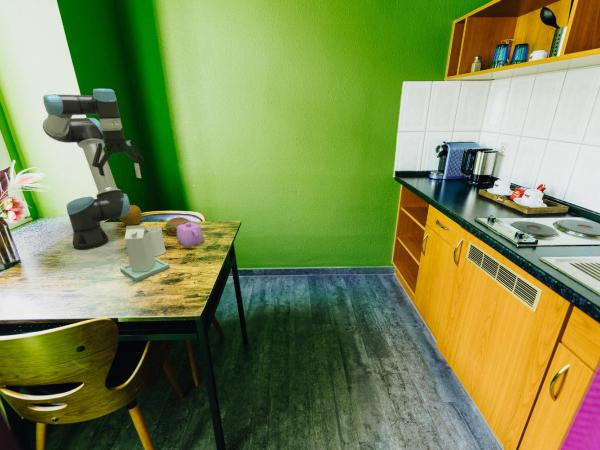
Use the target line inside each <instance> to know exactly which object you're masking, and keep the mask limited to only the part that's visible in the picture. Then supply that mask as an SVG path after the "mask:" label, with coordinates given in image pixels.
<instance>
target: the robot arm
mask: <svg viewBox="0 0 600 450" xmlns="http://www.w3.org/2000/svg"><path fill="white" fill-rule="evenodd" d="M92 93H93V94H92V95H85V94H82V95H81V94H55V93H54V94H44V95H43V96H42V97H43V105H44V107H45V110H46V113H47V114H48V115H47V117H46V118H45V119H44V120H43V121H42V122H43V123H42V129H43V131H44V133H45V134H46V135H47V136H48V137H49V138H51V139H53V140H55V141H57V142H60V143H68V144H69V143H70V144H71V143H76V145H77V146H78V147H79V148H81V149H83V150H82V151H83V153H84V156H85V158H86V161H87V164H88V167H89V170H90V173H91V176H92V178H93V181H94V183H95V184H94V185H96V189H97V194H96V198H94V197H93V196H83V197H80V198H76V199H73V200H71V201H69V202H68V203H67V204H66V213H67V215H68V218H69V221H70V225H71V229H72V231H73V234H72V236H73V237H72V247H73V249H75V250H80V251H81V250H83V251H84V250H90V249H94V248H98V247H102V246H104V245H106V244H107V243H108V242H109V237H108V235H107V234H106V232H105V231H104V229H103V228H102V225H101V222H105V221H109V220H114V219H119V218H121V217H123V216H127V215H128V214H129V212H130V205H131V204H130V200H129V196H128V194H127V193H123V192H122V189H119V188H118V187H117V184H116V181H115V179H114V176H113V174H112V170H111V167H110V165H109V163H108V161H109V160H108V159H109V157H110V156H111V155H112V154H117V153H124V154H125V155H127V156H128V157H129V158H130V159H131V160H133V161H134V163H133V165H134V170H135V175H136V178H138V179H142V175H141V170H142V165H141V163H142V162H145V159H144V157H143V155H142V154H141V153H140V152H139V150H138V149H137V147H136V146H135V144H134V141H133V140H129V139H128V140H125V135H124V130H123V125H122V121H121V115H120V111H119V106H118V100H117V97H116V94H115V90H113V89H111V88H93V90H92ZM81 115H82V116H83V115H85V116H86V115H89V116H93V115H97V116H98V119H99V120H98V119H96V118H94V117H83V118H82V117H80V118H79V117H77V118H76V117H75V118H74V117H73V116H81ZM72 117H73V118H72ZM126 146H128V147H129V149H131V151H132V152H133V153H132V152H130V151H129V149H128V148H126ZM104 148H106V150H105V151H104Z"/></svg>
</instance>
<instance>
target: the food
mask: <svg viewBox="0 0 600 450" xmlns="http://www.w3.org/2000/svg"><path fill="white" fill-rule="evenodd" d="M191 222H192V220H189V219H187V218H185V217H183V216H182V217H181V216H178V217H173V218H170V219H168V221H167V222H166V223H165V225H164V228H165V230H166V232H167V234H168V235H170V236H177V226H179V225H180V224H186V223H191Z"/></svg>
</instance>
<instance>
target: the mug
mask: <svg viewBox="0 0 600 450" xmlns="http://www.w3.org/2000/svg"><path fill="white" fill-rule="evenodd" d="M145 228H146V229H147V230H148V231H149V232H150V237H151V242H152V246H153V251H154V256H155V257H159V256H161V255H164V254H166V252H167V249H166V246H165V240H164V235H163V231H162V226H158V225H156V226H155V225H154V226H149V227H145Z"/></svg>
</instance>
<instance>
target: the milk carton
mask: <svg viewBox="0 0 600 450" xmlns="http://www.w3.org/2000/svg"><path fill="white" fill-rule="evenodd" d="M125 227H126V231H125V234H124V242H125V248H126V251H127V256H128V261H129V264H130V265H131V269H132V272H142V271H150V270H151V269H152V267H153V266H154V265H155V263H156V261H155V257H156V256H154V251H153V246H152V242H151V237H150V232H149V231H148V230H147V229H146V228H147V227H146V226H145V225H130V226H129V225H126V226H125Z"/></svg>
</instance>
